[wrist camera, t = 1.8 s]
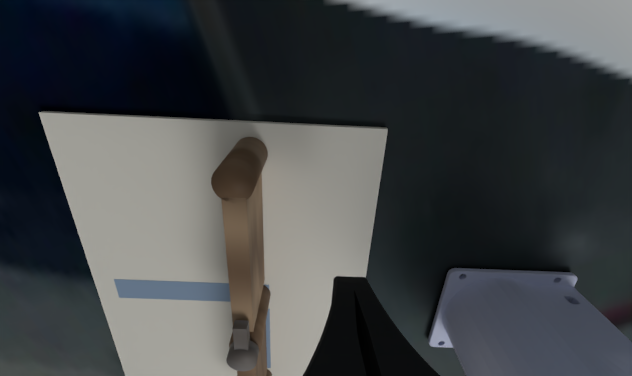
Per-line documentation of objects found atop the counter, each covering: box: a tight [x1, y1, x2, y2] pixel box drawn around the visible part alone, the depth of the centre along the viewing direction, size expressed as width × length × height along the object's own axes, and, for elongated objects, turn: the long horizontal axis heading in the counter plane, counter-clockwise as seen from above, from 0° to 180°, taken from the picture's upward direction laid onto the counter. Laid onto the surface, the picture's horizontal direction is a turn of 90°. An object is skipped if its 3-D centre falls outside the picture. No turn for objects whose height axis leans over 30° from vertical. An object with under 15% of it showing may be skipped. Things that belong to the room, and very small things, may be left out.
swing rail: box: [211, 137, 268, 371], centre depth 18 cm, size 13×2×5 cm, turn 177°
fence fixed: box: [229, 285, 272, 376], centre depth 23 cm, size 2×12×5 cm, turn 177°
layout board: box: [39, 111, 388, 376], centre depth 23 cm, size 20×24×1 cm
